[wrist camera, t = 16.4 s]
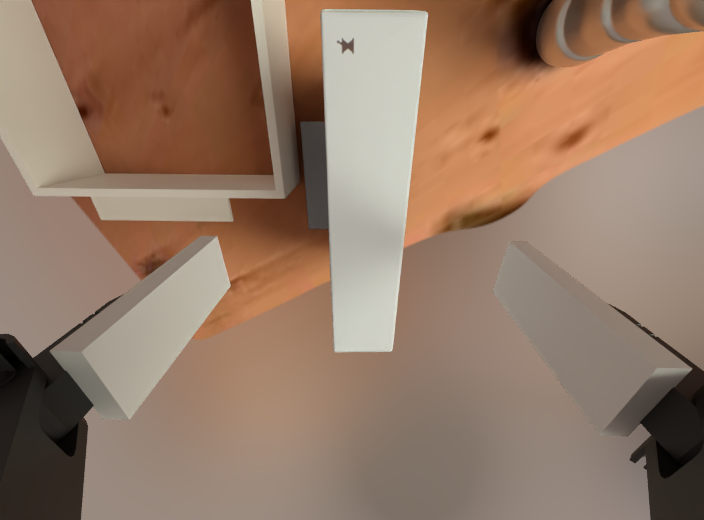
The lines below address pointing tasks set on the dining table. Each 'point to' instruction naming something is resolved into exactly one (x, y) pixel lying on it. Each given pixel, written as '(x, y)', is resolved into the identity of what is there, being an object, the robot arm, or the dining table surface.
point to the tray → (78, 151)
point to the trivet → (315, 173)
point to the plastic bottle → (609, 26)
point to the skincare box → (369, 163)
